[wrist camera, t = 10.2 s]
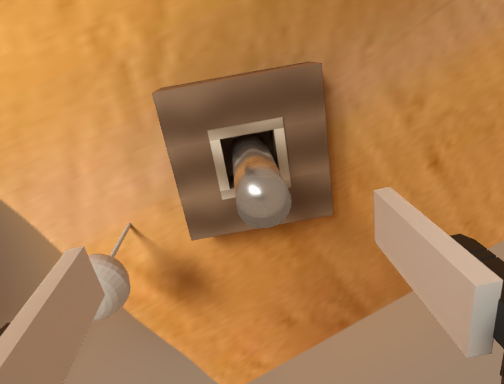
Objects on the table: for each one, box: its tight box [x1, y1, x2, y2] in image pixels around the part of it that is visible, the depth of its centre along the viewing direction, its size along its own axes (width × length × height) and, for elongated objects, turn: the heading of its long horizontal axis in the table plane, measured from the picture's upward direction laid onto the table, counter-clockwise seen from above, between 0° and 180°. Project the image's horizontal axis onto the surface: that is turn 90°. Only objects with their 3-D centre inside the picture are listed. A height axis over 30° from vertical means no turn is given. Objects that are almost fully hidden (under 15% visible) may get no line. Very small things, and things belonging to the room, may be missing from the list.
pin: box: [231, 133, 291, 228], centre depth 31 cm, size 4×4×15 cm
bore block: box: [152, 62, 333, 240], centre depth 37 cm, size 16×16×5 cm
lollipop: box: [88, 223, 131, 321], centre depth 35 cm, size 6×6×15 cm
